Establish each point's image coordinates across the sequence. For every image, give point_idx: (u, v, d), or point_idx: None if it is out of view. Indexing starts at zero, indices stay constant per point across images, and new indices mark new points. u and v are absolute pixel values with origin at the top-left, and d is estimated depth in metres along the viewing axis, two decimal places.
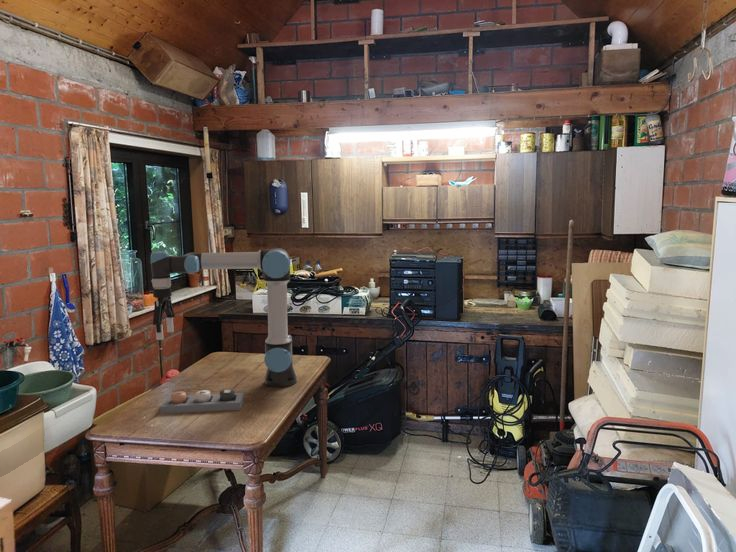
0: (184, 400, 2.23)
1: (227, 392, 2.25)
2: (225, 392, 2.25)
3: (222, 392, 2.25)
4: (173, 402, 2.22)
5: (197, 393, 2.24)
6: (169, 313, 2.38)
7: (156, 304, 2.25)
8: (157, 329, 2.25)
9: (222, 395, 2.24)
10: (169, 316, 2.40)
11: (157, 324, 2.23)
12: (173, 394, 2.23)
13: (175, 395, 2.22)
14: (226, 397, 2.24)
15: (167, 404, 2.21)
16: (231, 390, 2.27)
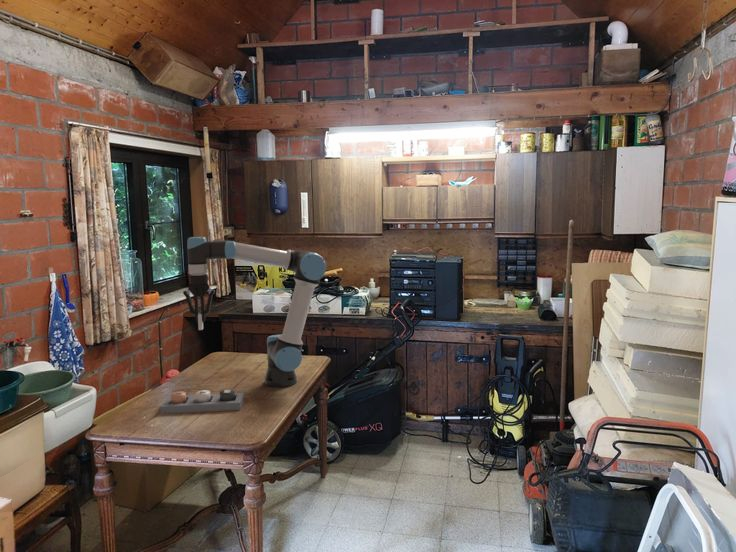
0: (184, 400, 2.23)
1: (227, 392, 2.25)
2: (225, 392, 2.25)
3: (222, 392, 2.25)
4: (173, 402, 2.22)
5: (197, 393, 2.24)
6: None
7: None
8: None
9: (222, 395, 2.24)
10: None
11: None
12: (173, 394, 2.23)
13: (175, 395, 2.22)
14: (226, 397, 2.24)
15: (167, 404, 2.21)
16: (231, 390, 2.27)
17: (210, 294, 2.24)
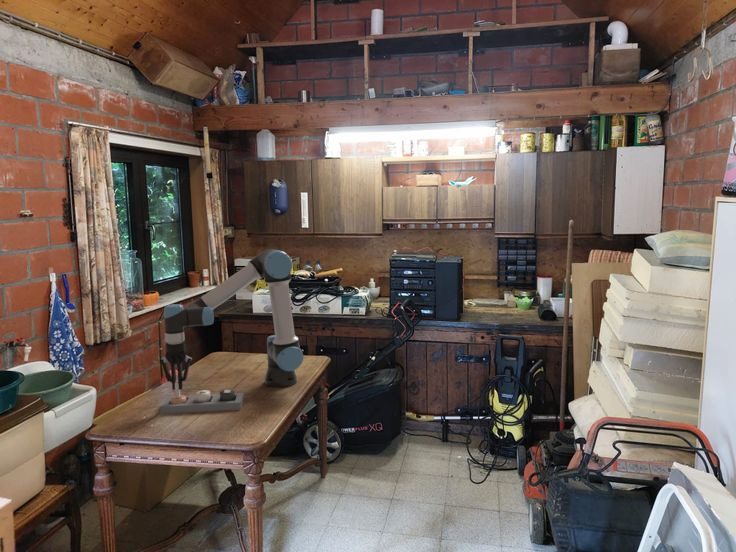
0: None
1: (227, 392, 2.25)
2: (225, 392, 2.25)
3: (222, 392, 2.25)
4: None
5: (197, 393, 2.24)
6: None
7: None
8: None
9: (222, 395, 2.24)
10: None
11: None
12: (173, 398, 2.24)
13: (175, 399, 2.23)
14: (226, 397, 2.24)
15: (167, 404, 2.21)
16: (231, 390, 2.27)
17: (187, 362, 2.22)
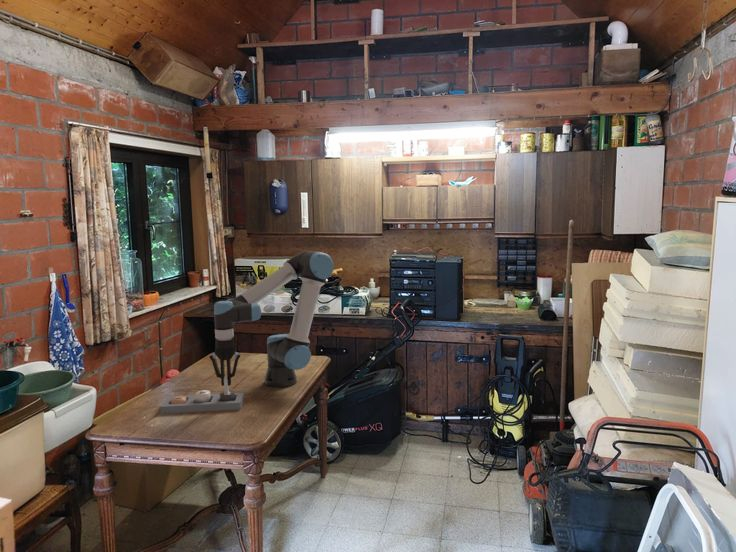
0: None
1: (227, 394, 2.25)
2: (225, 394, 2.25)
3: (222, 394, 2.25)
4: None
5: (197, 393, 2.24)
6: (227, 370, 2.25)
7: None
8: None
9: (222, 397, 2.24)
10: None
11: None
12: (173, 399, 2.24)
13: (175, 400, 2.23)
14: (226, 399, 2.24)
15: (167, 404, 2.21)
16: (231, 392, 2.28)
17: (236, 358, 2.24)
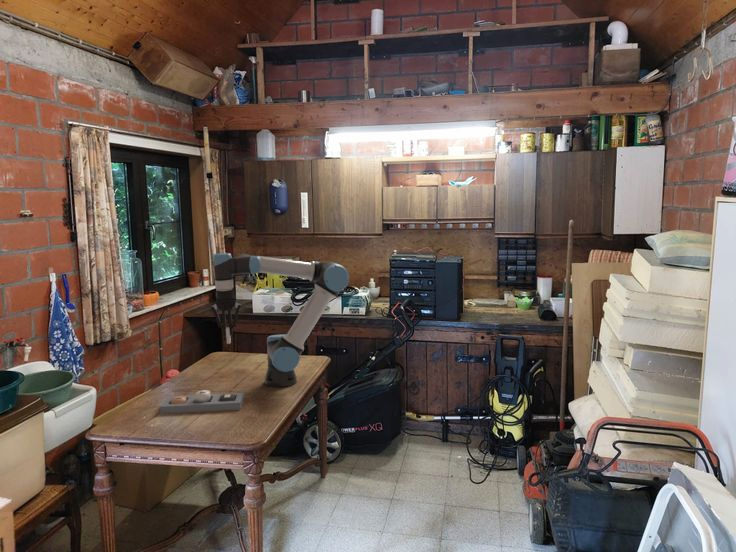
0: None
1: (227, 397, 2.25)
2: (225, 397, 2.25)
3: (222, 397, 2.25)
4: None
5: (197, 393, 2.24)
6: None
7: None
8: None
9: (222, 400, 2.24)
10: (229, 326, 2.32)
11: None
12: (173, 399, 2.24)
13: (175, 400, 2.23)
14: None
15: (167, 404, 2.21)
16: (231, 395, 2.28)
17: (237, 308, 2.31)
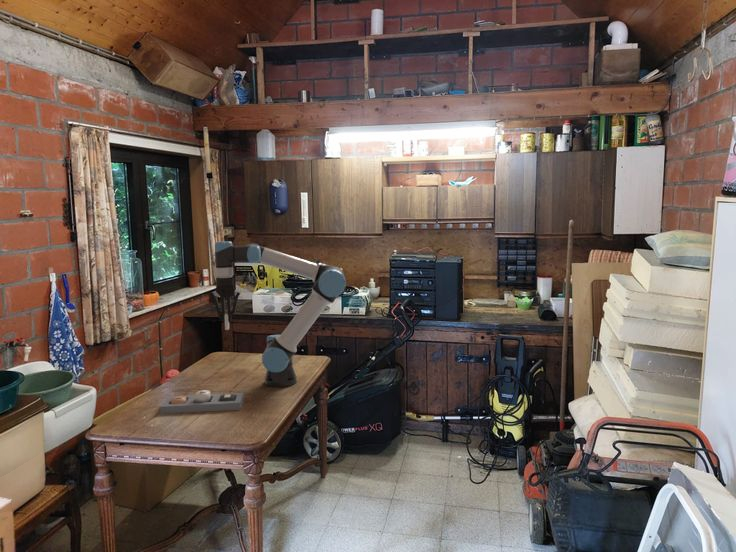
0: None
1: (227, 397, 2.25)
2: (225, 397, 2.25)
3: (222, 397, 2.25)
4: None
5: (197, 393, 2.24)
6: None
7: None
8: None
9: (222, 400, 2.24)
10: None
11: None
12: (173, 399, 2.24)
13: (175, 400, 2.23)
14: None
15: (167, 404, 2.21)
16: (231, 395, 2.28)
17: (236, 296, 2.35)
